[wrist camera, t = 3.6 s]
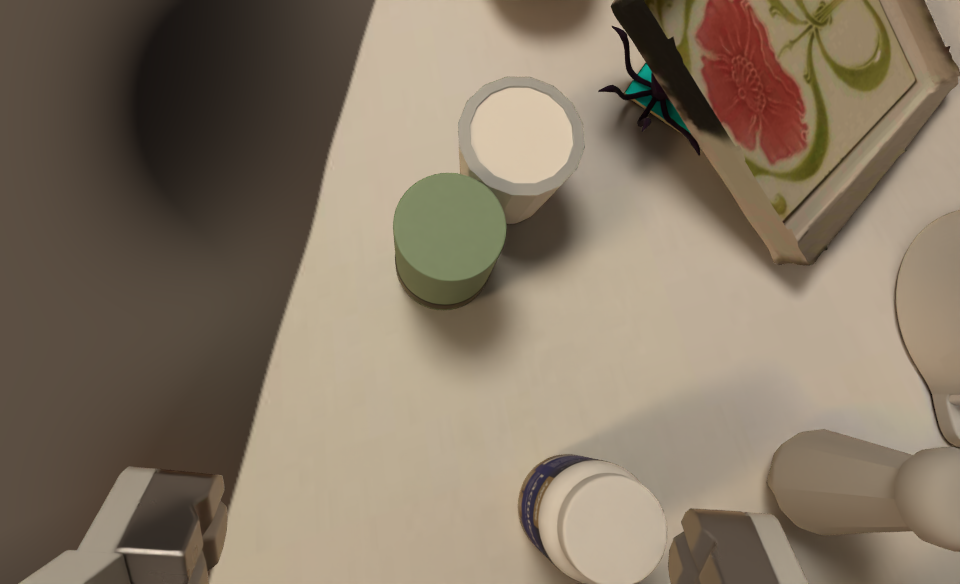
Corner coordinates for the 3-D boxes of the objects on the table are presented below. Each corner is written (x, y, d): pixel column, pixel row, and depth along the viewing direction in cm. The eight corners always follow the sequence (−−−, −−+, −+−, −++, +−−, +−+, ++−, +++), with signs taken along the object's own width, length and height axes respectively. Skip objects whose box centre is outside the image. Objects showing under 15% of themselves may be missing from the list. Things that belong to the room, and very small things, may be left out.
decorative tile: (800, -174, 42) (593, -8, 36) (845, -205, 39) (629, -31, 33) (922, 97, 48) (763, 277, 42) (969, 87, 45) (805, 278, 39)
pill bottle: (506, 465, 39) (539, 476, 29) (600, 445, 40) (663, 449, 30) (527, 568, 38) (568, 615, 28) (623, 545, 39) (695, 584, 29)
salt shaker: (741, 508, 40) (896, 545, 27) (765, 416, 41) (924, 410, 28) (833, 543, 40) (1030, 596, 27) (854, 449, 41) (1051, 458, 28)
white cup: (459, 121, 43) (468, 63, 36) (564, 142, 43) (593, 88, 36) (441, 223, 41) (447, 182, 34) (549, 243, 42) (577, 206, 35)
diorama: (807, 45, 46) (860, -6, 41) (701, 212, 43) (743, 181, 38) (672, -46, 47) (706, -108, 41) (556, 113, 43) (576, 68, 38)
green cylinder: (505, 248, 41) (527, 206, 34) (461, 328, 40) (473, 303, 32) (424, 203, 41) (427, 151, 34) (378, 282, 40) (370, 246, 32)
